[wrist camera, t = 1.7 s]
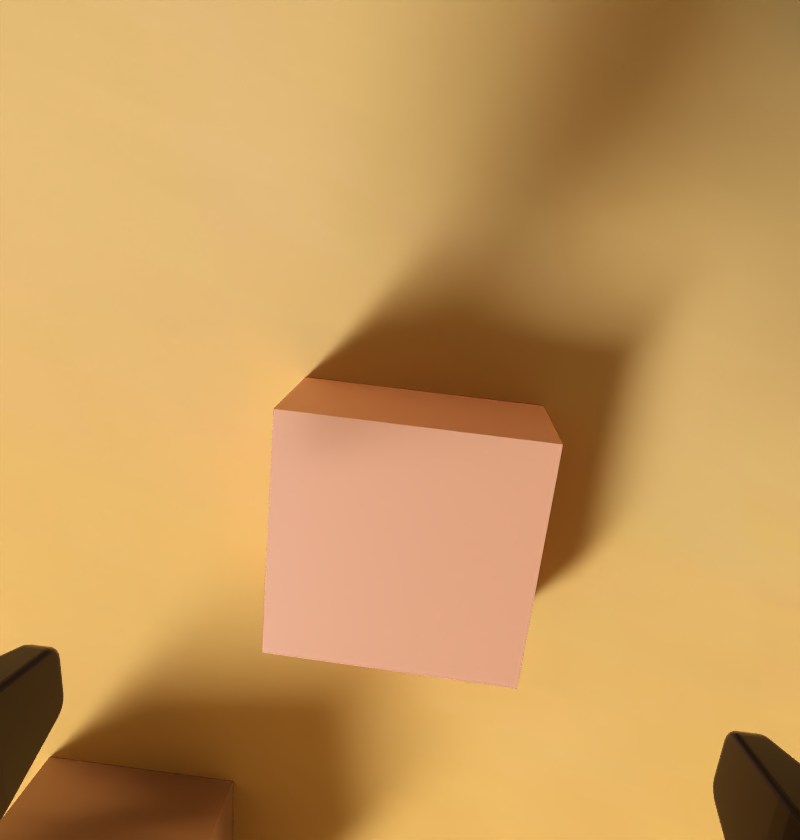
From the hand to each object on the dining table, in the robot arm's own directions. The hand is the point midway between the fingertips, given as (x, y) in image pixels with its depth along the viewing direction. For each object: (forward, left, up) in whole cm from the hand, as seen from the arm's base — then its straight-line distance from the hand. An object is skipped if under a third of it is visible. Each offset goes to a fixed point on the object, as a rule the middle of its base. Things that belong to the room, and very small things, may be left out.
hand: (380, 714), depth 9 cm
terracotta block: (0, 0, -8) cm, 8 cm away
